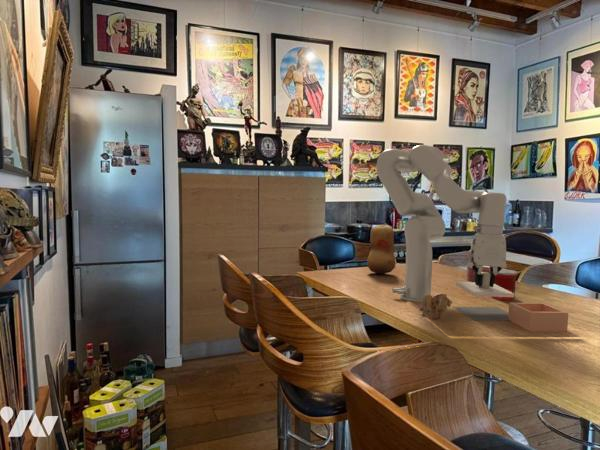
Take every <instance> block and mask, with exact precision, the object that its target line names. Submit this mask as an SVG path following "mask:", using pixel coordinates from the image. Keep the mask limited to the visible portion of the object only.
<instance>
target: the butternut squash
mask: <svg viewBox="0 0 600 450" xmlns="http://www.w3.org/2000/svg"><path fill="white" fill-rule="evenodd" d="M394 235H395V231H394V229H393V227H392V225H391V226H390V225H389V224H377V225H375V226H373V227H372V228H371V229H370V238H369V239H370V240H369V242H370V250H369V254H368V256H367V260H366V263H367V268H368V269H369V270H370V271H371V272H372V273H374V274H377V275H382V276H383V275H386V274H389V273H392V271H393V270H394V269H395V268H396V257H395V254H394V248H395V242H394V241H395V239H394V238H395V237H394Z"/></svg>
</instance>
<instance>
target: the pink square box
mask: <svg viewBox="0 0 600 450" xmlns="http://www.w3.org/2000/svg"><path fill="white" fill-rule="evenodd" d="M508 313H509V315H508V320H510V321H509V322H512V323H513V324H515V325H517V326H519V327H521V328H523V329H525V330H527V331H528V332H564V333H565V332H568V325H569V312H567V311H565V310H562V309H560V308H557V307H555V306H552V305H550V304H547V303H545V302H508Z"/></svg>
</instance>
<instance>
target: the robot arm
mask: <svg viewBox="0 0 600 450" xmlns="http://www.w3.org/2000/svg"><path fill="white" fill-rule="evenodd" d="M376 172H377V173H376V174H377V176H378V178H379V180H380V182H381V184H382V185H383V188H384V189H385V190H386V192H387V194H388V197H389V198H390V200H391V201H392V204H393V206H394V208H395V209H396V211H397V213H398V214H399V215H400V216H402V217H407V218H408V217H410V218H408V219H407V220H406V222H405V224H404V229H403V230H404V237H405V238H404V239H405V272H404V273H405V274H404V275H405V276H404V277H405V279H404V281H405V282H404V285H402V287H399V288H398V287H392V288H391V292H392V293H393V294H398V295H400V298H401V299H402V300H403V301H411V302H419V303H420V302H421V303H423V300H424V297H425V296H426V295H431V296H432V297H434V296H435V295H432V279H433V278H432V275H433V274H432V273H433V272H432V271H433V248H432V247H433V246H432V244H431V241H436V240H439V239H441V238H442V237H443V236H444V235H445V233H446V223H445V221H444V219H443V217H442V215H441V214H440V212H439V210H438V208H437V207H436V205H435V203H434V201H433V200H432V199H431V197H430V196H428V195H427V194H425V193H423V192H415V191H413V189H412V188H411V187H410V185H409V183H408V181H407V180H406V178H405V177H404V176H403V175H402V174H401V173H400V172H403V173H412V172H419V173H421V175H423V176H424V177H425V178H426V179H427V180H428V181H429V182H430V184H431V185H432V186H433V190H434V193H435V194H436V195H437V197H438V198H439V199H440V200H441V201H442V202H443V203H444V204H445V205H446V206H447V207H448V208H449V209H451V210H452V211H454V212H455V213H458V214H477V213H478V219H477V221H478V222H477V224H476V225H475V226H473V231H476V233H474V236H473V238H472V243H471V247H470V250H471V251H469V254H470V258H469V257H468V258H469V259H467V260H466V262H465V265H466V267H467V266H469V267H471V268H472V269H473V271H474V272H475V284H476V285H477V286H479V287H481V286H482V279H483V275H482V274H481V273H482V268H483V266H489V267H490V272H489V273H491V277H490V287H493V285H494V283H495V275H497V273H498V272H499V271H500V270H505V269H507V266H508V264H507V262H506V260H507V240H506V236H505V235H503V234H504V233H503V232H504V225H505V215H506V206H507V195H506V194H504V193H501V192H493V191H491V192H489V191H488V192H483V191H478V190H468V189H465V190H464V189H463V188H462V187H461V186H460V185H458V184H457V182H455V181H454V180H453V178H452V177H451V175H452V172H453V168H452V166H450V164H449V163H447V161H445V160H444V154H443V151H442V150H441V149H440V148H438V147H436V146H432V145H426V144H419V145H416V146H414V147H412V148H411V149H410V150H404V149H398V148H388V149H386V150H383V151H381V153H380V154H379V156H378V158H377V162H376ZM472 263H475V265H473V264H472Z"/></svg>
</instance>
